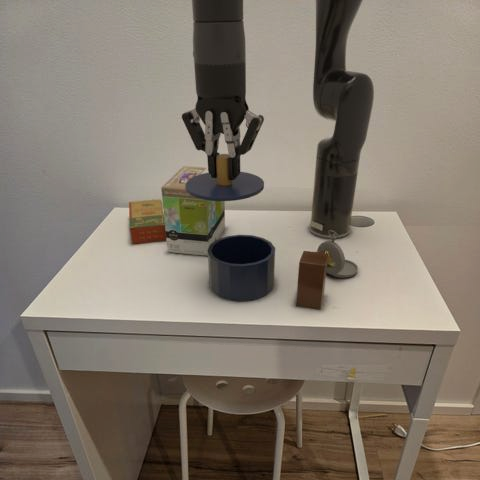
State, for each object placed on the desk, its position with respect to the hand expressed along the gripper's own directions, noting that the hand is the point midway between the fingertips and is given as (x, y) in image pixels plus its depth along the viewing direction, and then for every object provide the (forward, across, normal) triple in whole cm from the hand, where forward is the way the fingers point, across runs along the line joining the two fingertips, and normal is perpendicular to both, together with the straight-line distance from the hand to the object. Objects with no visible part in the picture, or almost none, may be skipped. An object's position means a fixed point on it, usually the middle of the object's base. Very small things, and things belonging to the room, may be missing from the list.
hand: (224, 177), depth 73 cm
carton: (+21, +28, -16) cm, 39 cm away
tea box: (+21, +14, -15) cm, 29 cm away
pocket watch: (+21, -19, -11) cm, 30 cm away
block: (+21, -17, +1) cm, 27 cm away
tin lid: (+2, 0, 0) cm, 2 cm away
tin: (+21, -3, 0) cm, 21 cm away
